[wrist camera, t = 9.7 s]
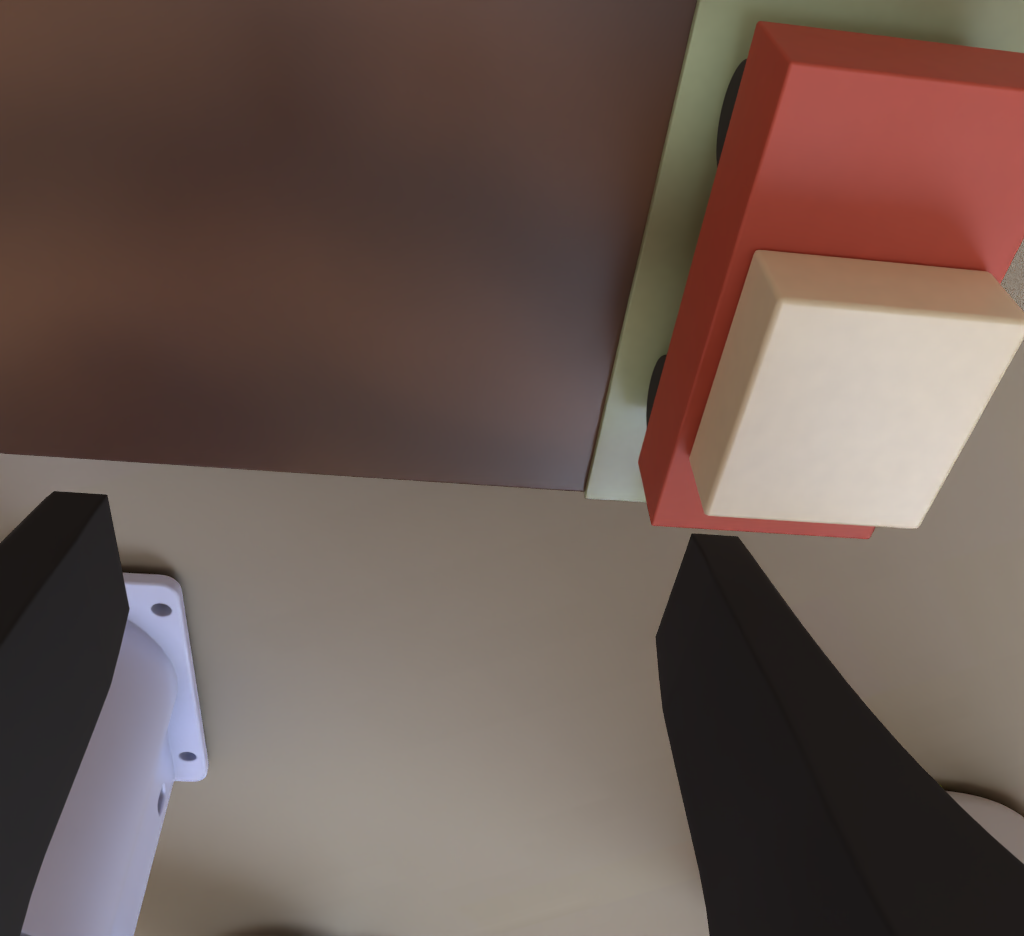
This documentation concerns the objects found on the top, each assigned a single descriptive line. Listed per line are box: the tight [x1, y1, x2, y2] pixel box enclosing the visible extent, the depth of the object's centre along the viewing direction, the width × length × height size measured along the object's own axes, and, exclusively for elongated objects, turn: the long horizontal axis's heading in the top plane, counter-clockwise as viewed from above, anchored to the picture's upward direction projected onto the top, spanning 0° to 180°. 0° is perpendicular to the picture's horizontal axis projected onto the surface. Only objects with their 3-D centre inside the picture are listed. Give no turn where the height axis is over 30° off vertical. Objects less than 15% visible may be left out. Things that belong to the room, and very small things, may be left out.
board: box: [0, 0, 1024, 503], centre depth 18 cm, size 13×22×1 cm, turn 83°
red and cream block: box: [638, 21, 1024, 539], centre depth 17 cm, size 9×5×5 cm, turn 173°
